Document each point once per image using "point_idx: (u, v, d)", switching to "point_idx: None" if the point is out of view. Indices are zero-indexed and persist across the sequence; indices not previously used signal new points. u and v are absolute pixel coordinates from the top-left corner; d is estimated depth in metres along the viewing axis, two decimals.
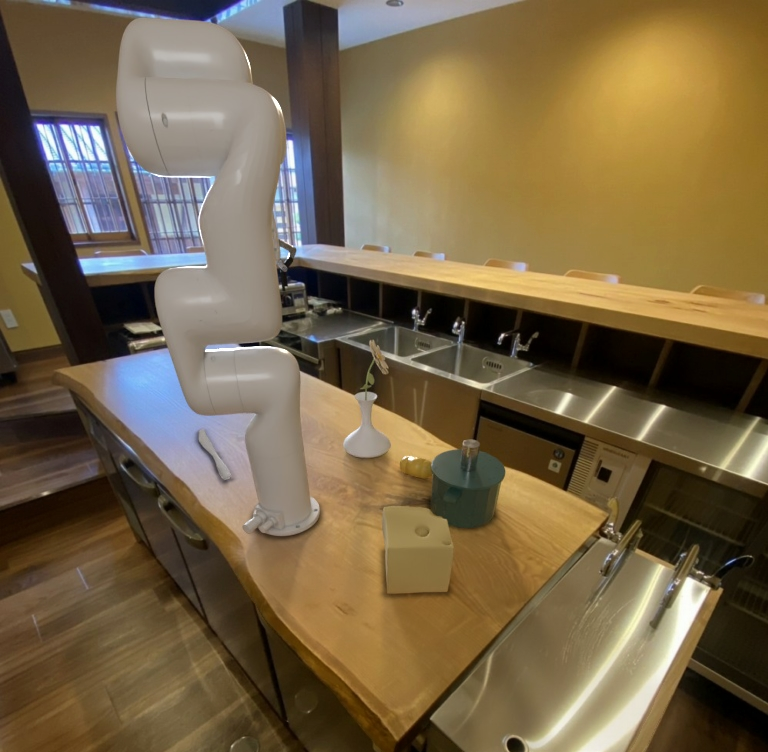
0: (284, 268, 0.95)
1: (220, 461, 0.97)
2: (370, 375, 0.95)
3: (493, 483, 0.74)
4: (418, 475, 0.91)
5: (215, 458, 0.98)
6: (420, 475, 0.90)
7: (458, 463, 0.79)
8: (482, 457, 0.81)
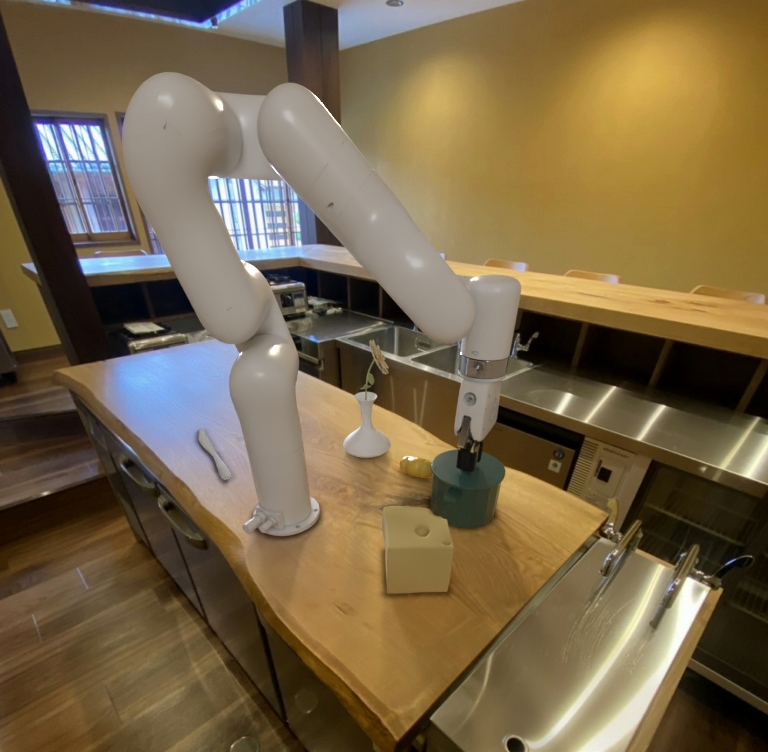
0: None
1: (220, 461, 0.97)
2: (370, 375, 0.95)
3: (493, 483, 0.74)
4: (418, 475, 0.91)
5: (215, 458, 0.98)
6: (420, 475, 0.90)
7: None
8: (482, 457, 0.81)
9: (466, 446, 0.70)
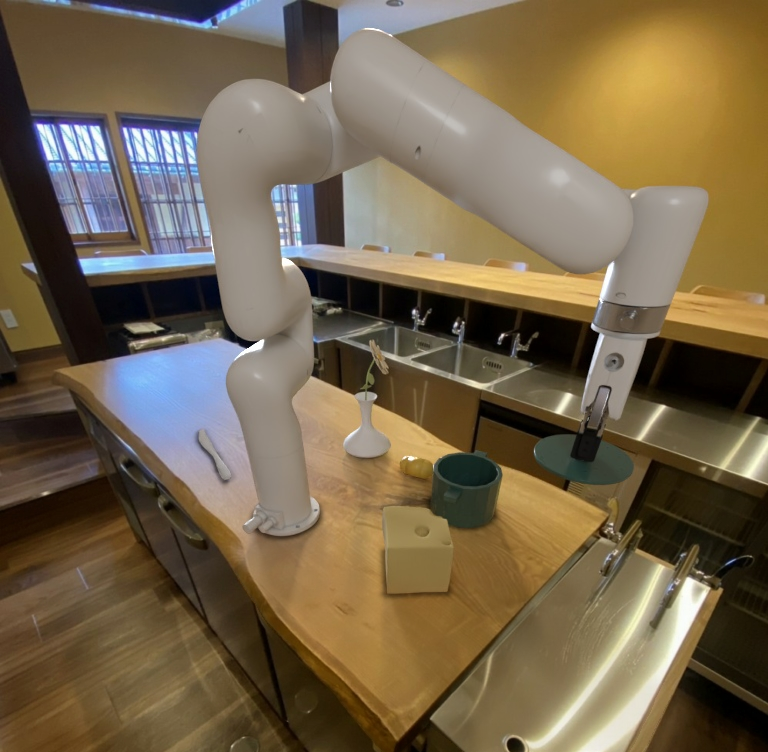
0: None
1: (220, 461, 0.97)
2: (370, 375, 0.95)
3: (624, 476, 0.57)
4: (418, 475, 0.91)
5: (215, 458, 0.98)
6: (420, 475, 0.90)
7: (568, 451, 0.63)
8: None
9: (597, 427, 0.54)
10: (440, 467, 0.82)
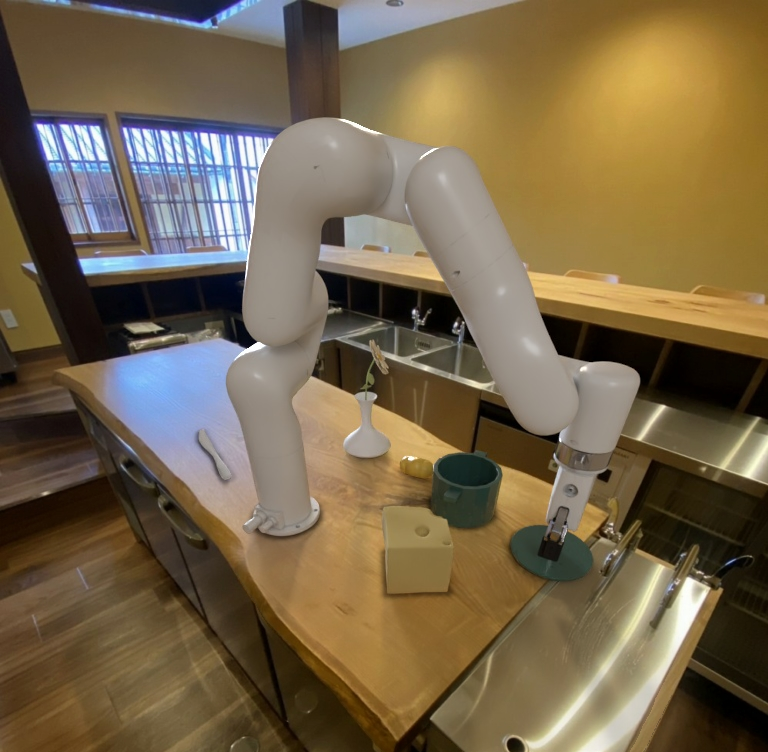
0: None
1: (220, 461, 0.97)
2: (370, 375, 0.95)
3: (583, 572, 0.69)
4: (418, 475, 0.91)
5: (215, 458, 0.98)
6: (420, 475, 0.90)
7: (539, 544, 0.74)
8: None
9: (559, 536, 0.62)
10: (440, 467, 0.82)
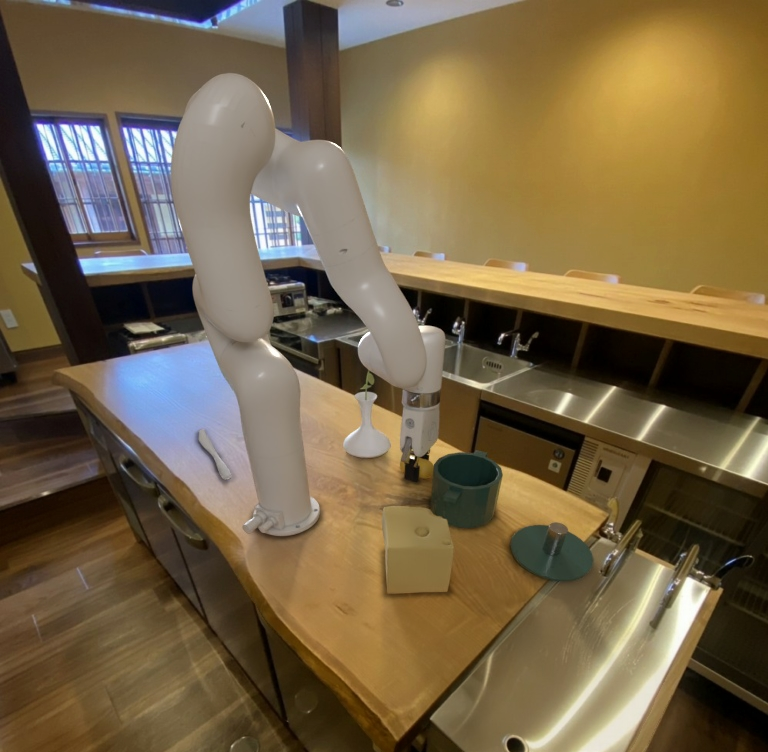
0: (428, 451, 0.92)
1: (220, 461, 0.97)
2: (370, 375, 0.95)
3: (583, 572, 0.69)
4: None
5: (215, 458, 0.98)
6: (420, 475, 0.90)
7: (539, 544, 0.74)
8: None
9: (409, 461, 0.85)
10: (440, 467, 0.82)
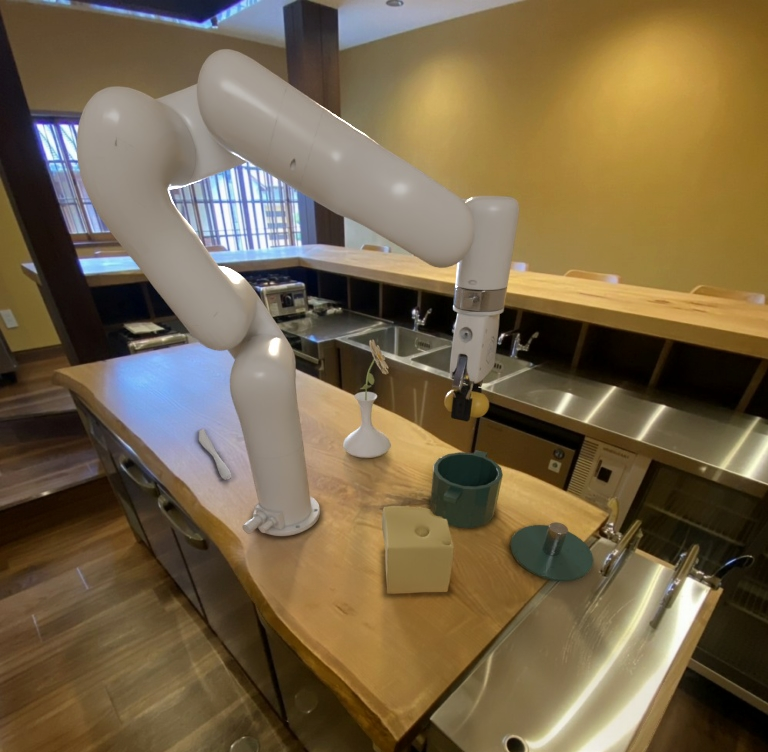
0: (480, 383, 0.73)
1: (220, 461, 0.97)
2: (370, 375, 0.95)
3: (583, 572, 0.69)
4: None
5: (215, 458, 0.98)
6: (472, 411, 0.71)
7: (539, 544, 0.74)
8: None
9: (461, 389, 0.66)
10: (440, 467, 0.82)
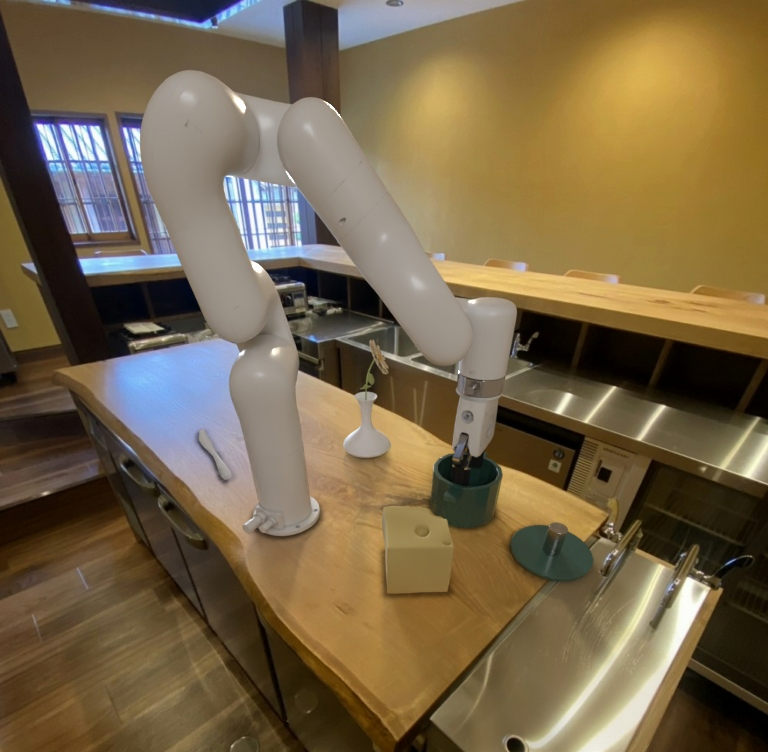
0: None
1: (220, 461, 0.97)
2: (370, 375, 0.95)
3: (583, 572, 0.69)
4: None
5: (215, 458, 0.98)
6: None
7: (539, 544, 0.74)
8: None
9: (461, 461, 0.70)
10: (440, 467, 0.82)
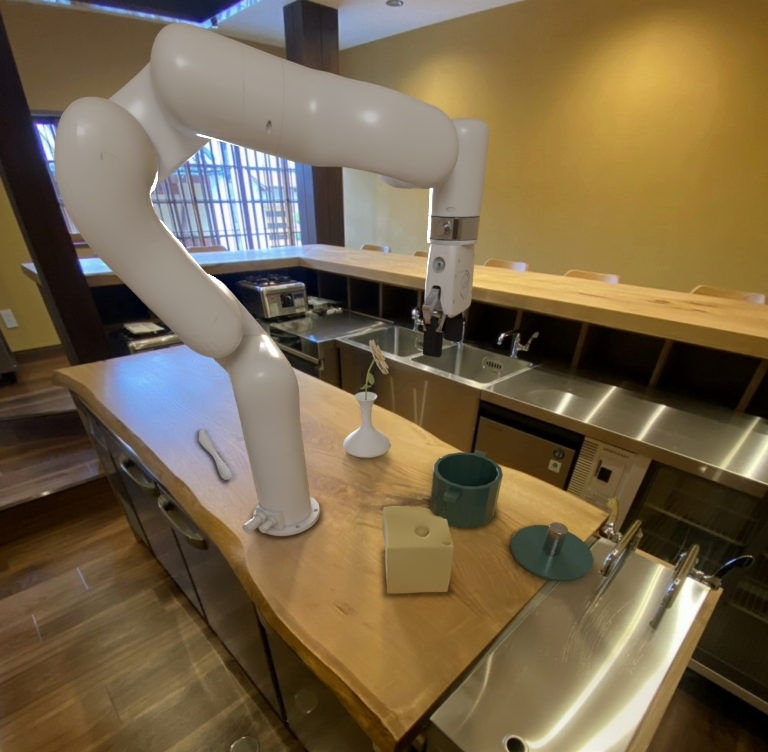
0: (463, 313, 0.75)
1: (220, 461, 0.97)
2: (370, 375, 0.95)
3: (583, 572, 0.69)
4: None
5: (215, 458, 0.98)
6: None
7: (539, 544, 0.74)
8: None
9: (431, 314, 0.64)
10: (440, 467, 0.82)
